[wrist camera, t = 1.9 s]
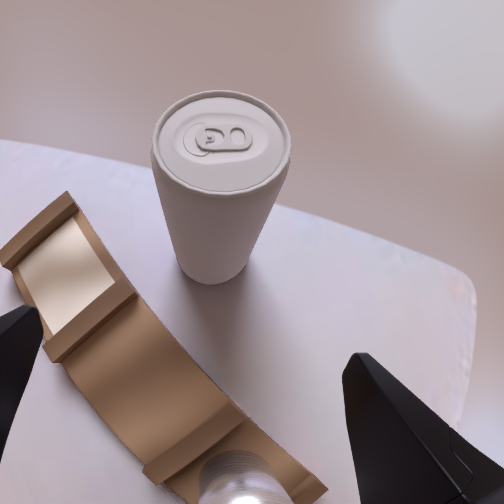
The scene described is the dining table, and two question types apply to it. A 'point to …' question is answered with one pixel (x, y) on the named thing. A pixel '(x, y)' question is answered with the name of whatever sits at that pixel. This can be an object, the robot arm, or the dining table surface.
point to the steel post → (240, 480)
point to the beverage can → (218, 178)
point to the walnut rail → (133, 359)
